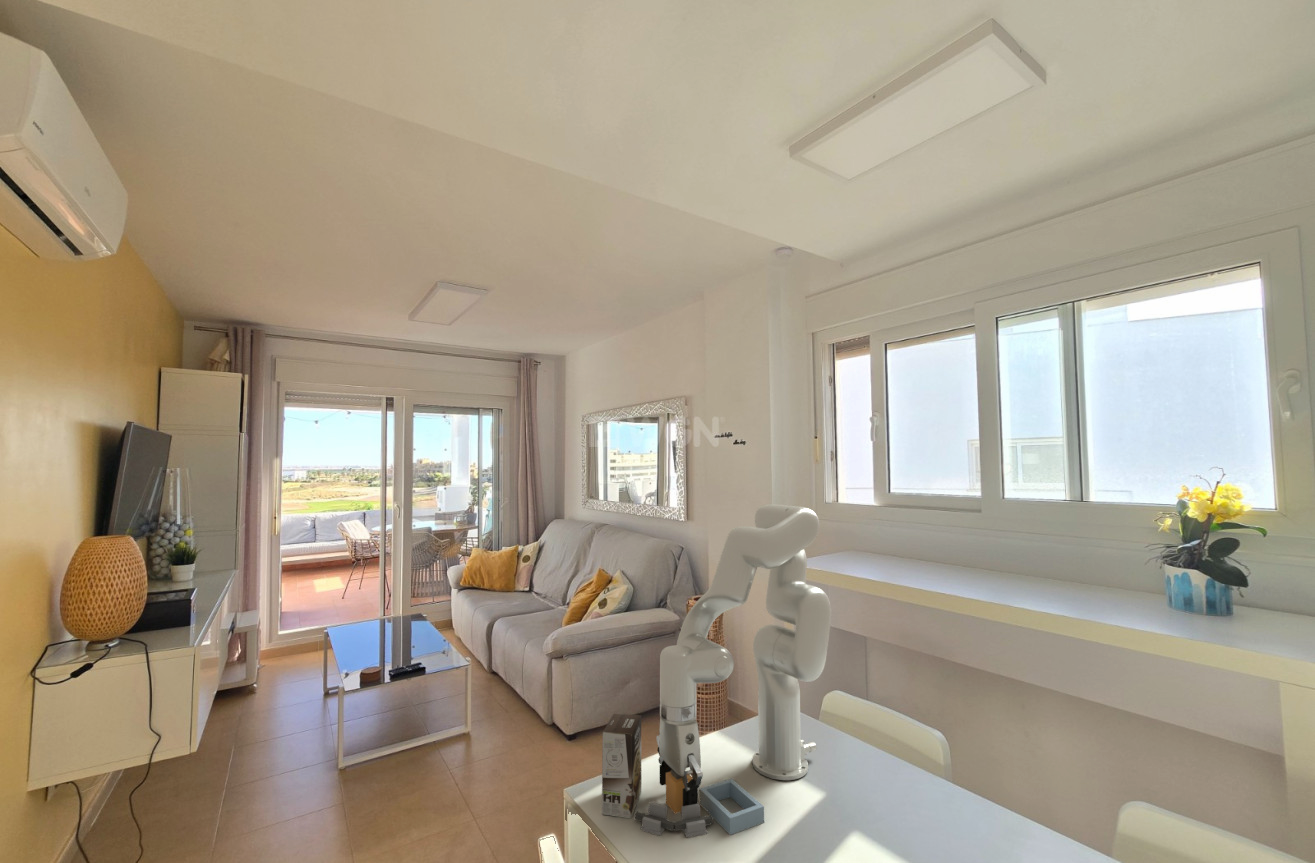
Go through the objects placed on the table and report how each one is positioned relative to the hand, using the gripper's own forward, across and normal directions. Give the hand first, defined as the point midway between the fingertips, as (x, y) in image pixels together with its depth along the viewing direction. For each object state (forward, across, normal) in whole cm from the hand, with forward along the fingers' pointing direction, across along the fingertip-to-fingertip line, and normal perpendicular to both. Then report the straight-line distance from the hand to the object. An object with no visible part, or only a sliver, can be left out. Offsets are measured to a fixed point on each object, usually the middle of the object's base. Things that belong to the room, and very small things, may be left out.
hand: (678, 795), depth 114 cm
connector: (+2, 0, 0) cm, 2 cm away
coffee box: (+2, +6, +10) cm, 12 cm away
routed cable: (+1, -5, +4) cm, 6 cm away
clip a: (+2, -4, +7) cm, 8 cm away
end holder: (+2, -7, -8) cm, 11 cm away
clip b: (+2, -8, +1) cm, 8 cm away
